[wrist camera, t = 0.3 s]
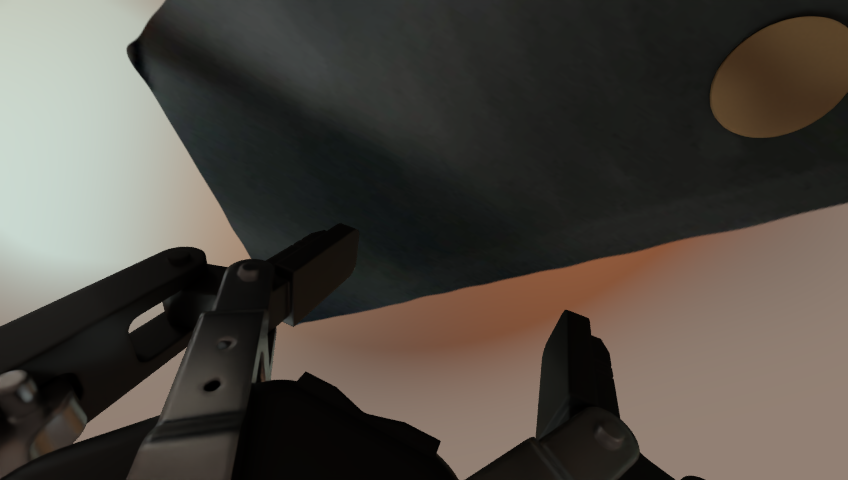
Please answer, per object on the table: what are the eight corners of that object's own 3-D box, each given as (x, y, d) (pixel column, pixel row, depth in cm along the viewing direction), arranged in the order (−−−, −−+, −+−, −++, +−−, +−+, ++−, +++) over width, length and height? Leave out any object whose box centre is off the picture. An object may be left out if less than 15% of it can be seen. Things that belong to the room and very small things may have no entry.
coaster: (752, 7, 26) (754, 6, 26) (891, 28, 24) (896, 27, 24) (687, 123, 31) (688, 123, 30) (801, 149, 29) (804, 149, 28)
